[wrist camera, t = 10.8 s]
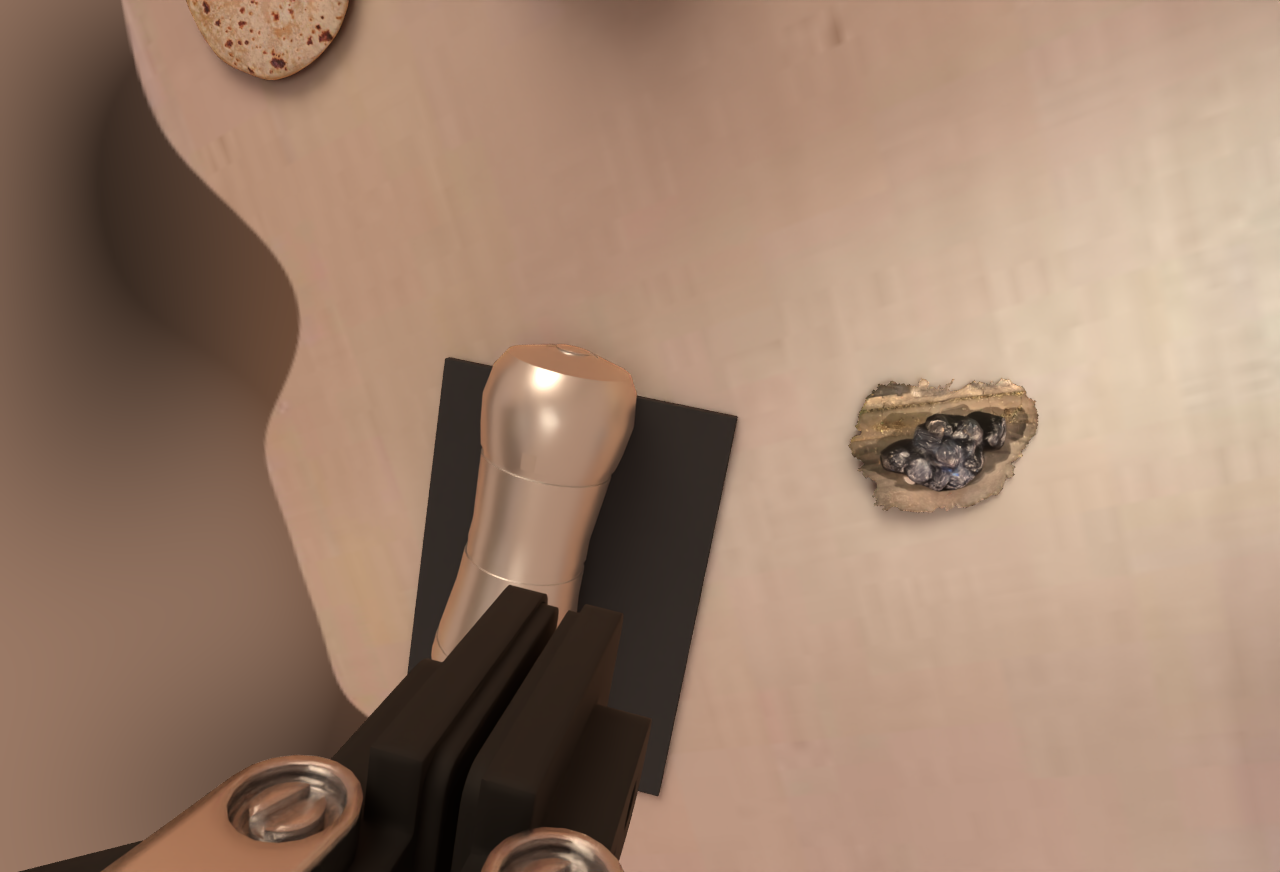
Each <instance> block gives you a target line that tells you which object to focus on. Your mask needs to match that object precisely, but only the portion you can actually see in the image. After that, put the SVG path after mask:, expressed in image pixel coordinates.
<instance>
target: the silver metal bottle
mask: <svg viewBox="0 0 1280 872" xmlns="http://www.w3.org/2000/svg"><path fill="white" fill-rule="evenodd" d="M636 397H637V393H636V390H635V387H634V383H633V380H632V377H631V375H630V374H629V372H627V371H626V370H625V369H623V368H621V367H619V366H617V365H615V364H613V363H611V362H609V361H607V360H605V359H603V358H601V357H599V356H597V355H595V354H593V353H591V352H589V351H588V350H585V349H583V348H580V347H576V346H571V345H565V344H558V345H555V344H550V345H515V346H511V347H509V348H508V349H507V351H506V352H505V353H504V354H503V355H502V356H501V357H500V358H499V359H498V360H497V361H496V362H495V363H494V365H493V367H492V370H491V373H490V375H489V378H488V380H487V383H486V385H485V388H484V391H483V396H482V409H481V445H482V447H483V448H482V449H481V456H480V464H479V473H478V481H477V489H476V497H475V505H474V514H473V519H472V522H471V526H470V530H469V533H468V542H467V544H466V545H465V548H464V552H463V556H462V560H461V564H460V567H459V571H458V575H457V578H456V581H455V583H454V586H453V589H452V591H451V594H450V597H449V599H448V602H447V605H446V607H445V610H444V613H443V615H442V618H441V621H440V624H439V627H438V629H437V631H436V635H435V639H434V642H433V646H432V653H431V656H432V660H436V661H440V662H443V661H444V660H445V659H446V657H447V656H448V655H449V654H450V653H451V652H452V650H453V649H454V648H455V647H456V646H457V644H458V643H459V642H460V641H461V640H462V639H463V637H464V636H465V635H466V634H467V633H468V632H469V630H470V629H471V628H472V627H473V626H474V625H475V623H476V622H477V621H478V620H479V619H480V617H481V616H482V615H483V614H484V613H485V612H486V610H487V609H488V608H489V607H490V606H491V605H492V603H493V602H494V601H495V600H496V599H497V597H498V596H499V595H500V594H501V593H502V592H503V590H504V589H505V588H506V587H507V586H508V585H513V586H517V587H521V588H525V589H529V590H533V591H537V592H541V593H545V594H547V596H548V605H551V606H555V607H558V609H559V615H558V622H557V627H558V626H559V624H560V622H561V621H562V619H563V618H564V616H565V614H566V613H567V612H568V610H570V611H574V612H577V606H578V596H579V591H580V586H581V581H582V576H583V571H584V562H585V560H586V556H587V551H588V546H589V541H590V538H591V535H592V532H593V529H594V526H595V523H596V520H597V517H598V514H599V511H600V509H601V506H602V503H603V500H604V497H605V494H606V491H607V488H608V485H609V482H610V479H611V474H612V473H613V472H614V471H615V470H616V468H617V466H618V464H619V462H620V460H621V458H622V456H623V454H624V451H625V449H626V446H627V443H628V441H629V438H630V436H631V433H632V431H633V428H634V420H635V409H636Z"/></svg>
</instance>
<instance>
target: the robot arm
mask: <svg viewBox="0 0 1280 872" xmlns="http://www.w3.org/2000/svg"><path fill="white" fill-rule="evenodd" d="M558 615H559V609H558V607H555V606H551V605H548V596H547V594H545V593H541V592H537V591H533V590H529V589H525V588H521V587H517V586H513V585H508V586H507V587H506V588H505V589H504V590H503V592H502V593H501V594H500V595H499V596H498V597H497V599H496V600H495V601H494V602H493V603H492V605H491V606H490V607H489V608H488V609H487V610H486V612H485V613H484V614H483V615H482V616H481V617H480V619H479V620H478V621H477V622H476V623H475V625H474V626H473V627H472V628H471V629H470V630H469V632H468V633H467V634H466V635H465V636H464V637H463V639H462V640H461V641H460V642H459V643H458V644H457V646H456V647H455V648H454V649H453V650H452V652H451V653H450V654H449V655H448V656H447V657H446V659H445V660H444V661H443V662H440V661H436V660H432V659H429V658H428V659H423V660H421V661H420V662H419V663H418V664H417V665H416V666H415V667H414V668H413V669H412V670H411V671H410V672H409V674H408V675H407V676H406V677H405V678H404V679H403V680H402V681H401V682H400V684H399V685H398V686H397V687H396V688H395V689H394V690H393V691H392V692H391V693H390V695H389V696H388V697H387V698H386V699H385V700H384V701H383V702H382V703H381V704H380V706H379V707H378V708H377V709H376V710H375V711H374V712H373V713H372V714H371V715H370V717H369V718H368V719H367V720H366V721H365V722H364V723H363V724H362V725H361V726H360V728H359V729H358V730H357V731H356V732H355V733H354V734H353V735H352V736H351V738H350V739H349V740H348V741H347V742H346V743H345V744H344V745H343V746H342V747H341V749H340V750H339V751H338V752H337V753H336V754H335V755H334V756H333V757H332V758H331V760H329V759H326V758H322V757H319V756H307V755H290V756H283V757H275V758H271V759H268V760H265V761H262V762H259V763H256V764H252V765H251V766H249V767H247V768H245V769H243V770H242V771H240V772H238V773H236V774H235V775H233V776H231V777H230V778H229V779H227V780H226V781H225V782H223V783H222V784H220V785H219V786H218V787H216V788H215V789H214V790H212V791H211V792H209V793H208V794H207V795H205V796H204V797H203V798H201V799H200V800H198V801H197V802H196V803H194V804H193V805H192V806H190V807H189V808H188V809H186V810H185V811H183V812H182V813H181V814H179V815H178V816H177V817H175V818H174V819H173V820H171V821H170V822H168V823H167V824H166V825H164V826H163V827H161V828H160V829H159V830H157V831H156V832H154V833H153V834H152V835H150V836H149V837H148V838H146V839H145V840H143V841H139V842H135V843H131V844H127V845H123V846H120V847H115V848H111V849H107V850H104V851H99V852H96V853H91V854H87V855H84V856H79V857H75V858H72V859H67V860H63V861H59V862H55V863H52V864H48V865H44V866H40V867H36V868H32V869H28V870H24V871H20V872H624V871H623V869H622V867H621V865H620V863H619V859H620V856H621V852H622V849H623V845H624V842H625V838H626V835H627V831H628V828H629V824H630V820H631V816H632V812H633V808H634V804H635V800H636V796H637V792H638V787H639V783H640V778H641V774H642V769H643V764H644V760H645V755H646V750H647V745H648V740H649V735H650V730H651V724H652V718H648V717H644V716H641V715H637V714H633V713H629V712H626V711H622V710H618V709H615V708H611V707H607V705H608V699H609V694H610V689H611V683H612V678H613V673H614V668H615V662H616V657H617V652H618V646H619V641H620V636H621V630H622V625H623V613H620V612H616V611H612V610H608V609H604V608H600V607H596V606H592V605H588V604H585V605H584V607H583V608H582V610H581V612H580V613H578V612H574V611H570V610H568V612H567V613H566V614H565V616H564V618H563V619H562V621H561V622H560V624H559V626H558V627H557V622H558Z"/></svg>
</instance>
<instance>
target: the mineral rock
mask: <svg viewBox="0 0 1280 872" xmlns="http://www.w3.org/2000/svg"><path fill="white" fill-rule="evenodd" d="M953 380H954V379H952V381H951V383H949V384H946V388H945V389H943V388H942V389H941V388H940V386H939V387H938V389H937V390H936V388H935V387H930V388H927V386H928V384H929V382H928V381H927V380H925V379H922V378H921V381H919V382H918V383H919V386H918V387H916V386H915V387H914V386H912V387H911V385H910V384H909V385H907V386H906V385H905V384H901V385H900V383H899V384H898V385H897V383H896V382H893V381H892V382H890V383H889V384H888V385H887V386H886V385H880V384H878V387H877V388H878V389H877V390H876V391H875V390H873V392H872V394H870V395H869V396H868V397H867V398H866V399H867V400H865V401H866V403H865V404H864V407H862V410H861V412H859V413H860V414H858V415H859V416H858V418H859V421H857V423H858V424H857V425H856V426H855V427H856V428H857V429H858V431H860V430H861V434H860V435H859V436H857V435H856V436H854V437H853V438H852V439H853V440H851V442H850V443H851V444H850V445H848V446H849V448H850V449H851V450H852V455H853V456H854V458H855V457H857V458H858V459H859V460H861V461H862V462H863V463H864V465H863V466H861V469H859V468H858V469H859V470H858V471H863V475H864V477H865V478H868V477H870V478H871V480H872V481H873V480H875V482H876V483H877V488H876V490H875V491H874V495H873V498H874V497H876V499H877V500H876V503H875V504H874V506H876V505H877V506H882V505H884V508H883V509H882V510H886V511H888V509H890V508H891V507H893V506H894V507H896V506H897V507H898V509H899V510H901V511H903V510H905V511H906V510H907V511H909V510H910V512H911V511H913V512H916V513H917V512H918V513H920V512H921V511H922V512H925V511H927V512H928V513H930V512H933V511H934V510H935V509H936V508H937V507H939V508H940V507H941V508H943V507H946V511H948V510H949V509H951V508H953V507H954V506H955V505H957V507H958V508H961V507H963V508H964V507H966V508H967V507H969V506H973V505H975V504H977V503H978V502H979V501H980V502H981V501H982V499H986V498H988V497H989V496H991V495H994V494H995V495H998V494H999V493H1000V490H1002V489H1003V488H1002V487H1003V484H1004V481H1005V480H1006V477H1007V478H1010V477H1012V476H1013V475H1014V473H1013V472H1012V471H1013V468H1015V467H1014V466H1013V465H1012V464H1011V463H1012V461H1016V460H1017V458H1018V457H1019V458H1021V457H1022V456H1023V455H1022V454H1021V450H1023V449H1024V448H1026V445H1027V444H1028V441H1029V440H1030V438H1031V437H1032V436H1034V435H1035V433H1036V429H1037V426H1038V424H1037V422H1038V416H1039V415H1038V414H1037V411H1036V410H1037V409H1036V408H1035V406H1034V405H1035V402H1036V401H1033V400H1032V399H1031V398H1030V399H1029V398H1028V397H1027V396H1026V391H1025V389H1024V388H1023V387H1022V386H1021V387H1020V386H1018V387H1017V385H1016V384H1014V385H1013V383H1012V382H1011V381H1010V380H1009V379H1008V380H1004V379H1002V378H1001V381H1000V382H998V383H997V384H996V385H993V381H991V382H990V384H989V385H988V384H985V383H981V382H980V381H979V382H978V383H976V381H975V380H974V381H973V382H972V383H970V384H968V385H967V386H965V387H964V388H963V389H961V390H960V391H959V390H958V391H956V392H955V391H953V392H950V390H949V387H950V385H951V384H952V382H953ZM949 493H951V494H950V495H949Z"/></svg>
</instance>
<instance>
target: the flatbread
mask: <svg viewBox="0 0 1280 872" xmlns="http://www.w3.org/2000/svg"><path fill="white" fill-rule="evenodd" d="M186 2H187V4H188V7H189V9H190V11H191V14H192V16H193V18H194V20H195V22H196V24H197V26H198V28H199V30H200V32H201V33H202V35H203V36H204V38H205V40H206V41H207V43H208V44H209V45H210V47H211V48H212V49H213V51H214V52H215V54H216V55H217V56H218V57H219V58H220V59H222V60H223V61H224V62H225V63H227V64H228V65H230V66H232V67H234V68H236V69H238V70H241V71H243V72H246V73H248V74H251V75H253V76H256V77H259V78H262V79H266V80H277V79H281V78H285V77H288V76H290V75H293V74H295V73H297V72H298V71H300V70H302V69H303V68H305V67H306V66H308V65H309V64H311V63H312V62H313V61H314V60H315V59H316V58H318V57H319V56H320V55H321V54H322V53H323V52H324V50H325V49H326V48H327V47H328V46H329V45H330V43H331V42H332V40H333V39H334V38H335V36H336V35H337V33H338V31H339V29H340V26H341V24H342V22H343V20H344V17H345V14H346V11H347V8H348V3H349V0H186Z"/></svg>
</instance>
